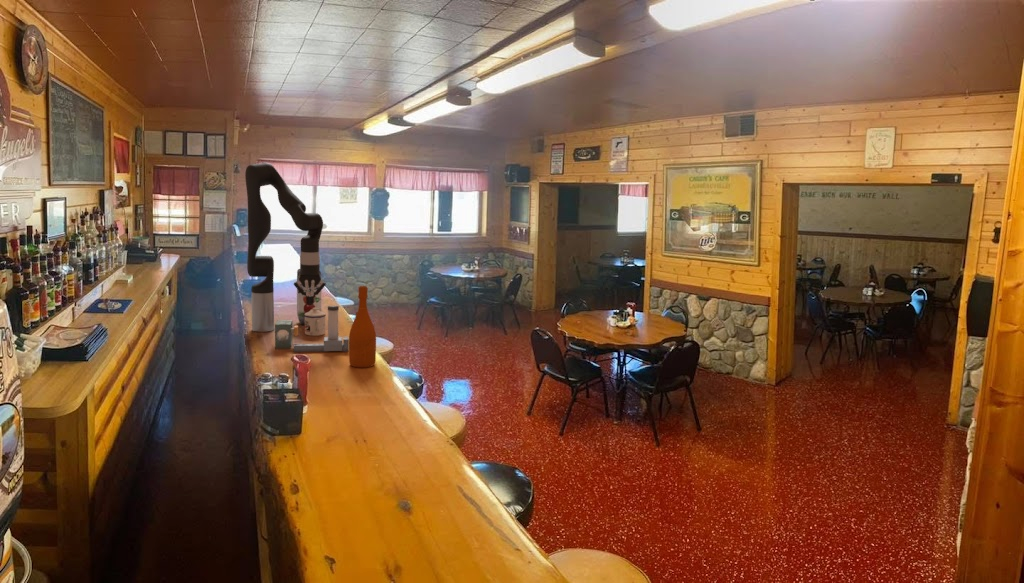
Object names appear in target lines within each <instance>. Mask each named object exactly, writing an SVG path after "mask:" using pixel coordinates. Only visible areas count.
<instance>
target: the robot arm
mask: <svg viewBox="0 0 1024 583" xmlns="http://www.w3.org/2000/svg"><path fill="white" fill-rule="evenodd" d="M244 174H245V186H246V188H245V189H246V196H247V236H248V237H247V238H248V244H247V246H248V247H247V263H246V265H247V266H246V268H247V270H246V271H247V274H248V276H249V277H253V278H262V277H263V278H265V279H263V280H262V281H260V282H257V283H255V284H253V285H252V286H251V287H250V288H251V289H250V290H251V297H250V298H251V331H253V332H259V333H263V332H264V333H265V332H272V331H275V330H274V329H275V306H274V305H275V298H274V297H275V296H274V291H275V290H274V289H275V287H274V271H275V261H274V258H273V256H272V255H257V252H258V250H259V248H260V246H261V245H262V244H263V242H264V241H265V239H266V238H267V237H268V235H270V233H271V231H272V230H271V229H272V216H271V215H272V214H271V213H270V210H269V209H268V208H267V205H266V204H265V203H264V201H263V200H262V197H261V187H265V186H271V187H273V188H274V189H275V190H276V192H277V198H278V199H277V200H278V202H279V204H280V206H281V207H282V208H283V210H284V211H286V212H287V213H288V214H289V215H290V217H291V219H292V221H293V223H294V225H295V226H296V227H297V228H298V229H299V230H301V231H302V232H307V235H305V236H304V237H301V239H300V254H299V269H300V277H299V280H298V281H297V280H296V281H294V283H293V286H294V287H295V288H296V290H297V289H298V290H299V291H300V293H301V294H302V295H305V296H306V303H307V304H308V305H312V304H313V303H314V295H318V294H319V292H320V291H321V292H322V290H323V289H324V288H325V286H326V285H327V283H326V282H325V281H323V280H322V276H321V277H320V272H321V270H320V268H321V265H320V264H321V263H320V262H321V259H320V238H321V235H322V232H323V228H324V221H323V217H322V216H321V214H319V213H316V212H307V213H306V210H307V207H306V205H305V203H304V202H303V201H302V200H300V198H299V197H297V195H296V194H295V193H294V192H293V191H292V190H291V189H290V187H289V186H288V184H287V183H286V182H285V180H284V179H283V177H282V176H281V175H280V173H279V171H278V170H277V169H276V167H275V166H274V165H273V164H272V163H269V162H259V163H254V164H253V163H252V164H249V165H247V166H246V168H245V173H244ZM300 282H301V283H302V285H303V286H304V287H305V288H306V292H305V291H304V290H303V289H302V288H301V286H300ZM319 282H320V287H319V288H318V289H317V290H316V291H315V292H314V288H315V287H316V286H317V285H318V283H319ZM309 288H311V294H310V293H309Z"/></svg>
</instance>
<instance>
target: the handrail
mask: <svg viewBox="0 0 1024 583" xmlns="http://www.w3.org/2000/svg"><path fill="white" fill-rule="evenodd" d="M310 352H311V353H312V352H313V353H314V352H317V353H318V352H319V353H320V352H322V353H323V352H325V351H324V343H294V344H293V353H310ZM341 352H343V353H346V352H347V353H349V336H343V338H342V351H341Z"/></svg>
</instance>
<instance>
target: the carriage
mask: <svg viewBox="0 0 1024 583" xmlns="http://www.w3.org/2000/svg"><path fill="white" fill-rule="evenodd" d="M339 308H340V306H338V305H328V306H327V336H324V337H323V344H324V352H343V351H342V343H343V337H342V336H339Z"/></svg>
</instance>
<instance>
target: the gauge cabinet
mask: <svg viewBox="0 0 1024 583" xmlns="http://www.w3.org/2000/svg"><path fill="white" fill-rule="evenodd" d="M291 328H293V319H277V320H276V322H274V329H275V330H274V348H275V349H276V350H277V349H279V350H281V349H282V350H283V349H287V350H289V349H290V350H291V349H292V347H293V345H294V344H293V338H294V337H293V336H294V335H293V333H291Z"/></svg>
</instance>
